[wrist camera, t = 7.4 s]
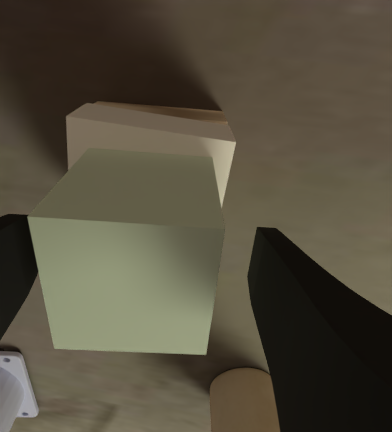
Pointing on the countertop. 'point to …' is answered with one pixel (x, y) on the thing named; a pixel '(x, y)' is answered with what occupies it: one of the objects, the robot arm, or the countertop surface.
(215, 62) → the countertop surface
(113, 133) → the tower top
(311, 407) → the robot arm
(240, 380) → the candle
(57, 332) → the sage block
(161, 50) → the countertop surface
